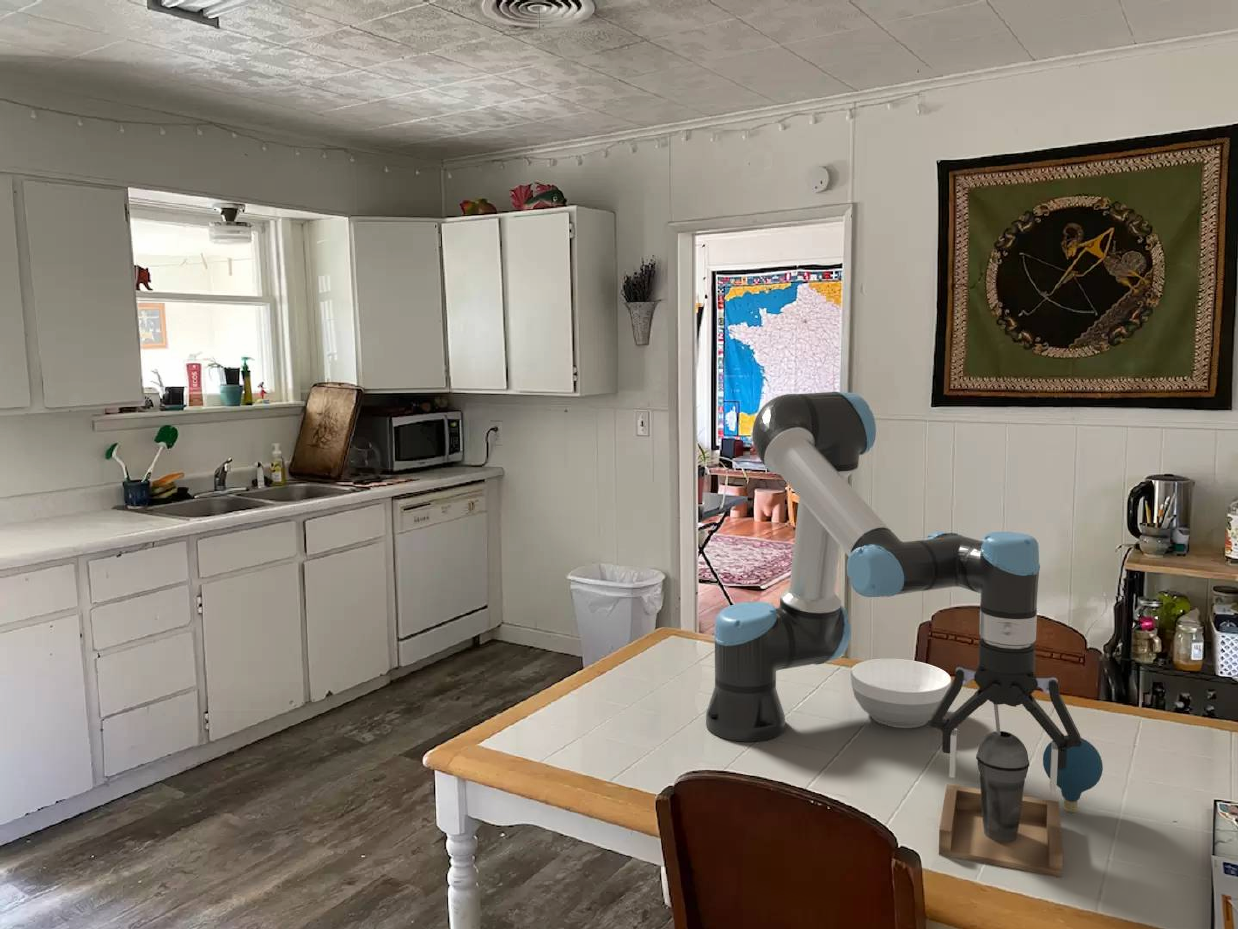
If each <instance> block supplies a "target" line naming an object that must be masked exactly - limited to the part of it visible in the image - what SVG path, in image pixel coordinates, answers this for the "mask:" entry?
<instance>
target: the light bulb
mask: <svg viewBox="0 0 1238 929" xmlns="http://www.w3.org/2000/svg"><path fill="white" fill-rule="evenodd" d="M1052 742H1054V741H1053V740H1051V741H1050V742H1049V743H1048V744H1047V746H1046V748H1045V749H1044V751H1043V754H1042V765H1043V769H1044V771H1045V774H1046V775H1047V777H1048V779H1050V769H1051V746H1052ZM1081 742H1082V745H1081V746H1080V747H1075V746H1074V747H1070V748H1068V750H1067V760H1066V768H1065V770H1060V769H1057V787H1058V788H1059V789H1060V792H1061V797H1062V798H1063V808H1064V809H1065V810H1066V811H1068V812H1070V813H1071V812H1073V813H1074V812H1075V811H1077V810H1078V801H1079V800H1080V799H1081V796H1082V793H1084V792H1087V791H1088V790H1091V789H1092V788H1094V787H1095V786H1097V785H1098V783H1099V781H1100V779H1101V777H1102V774H1103V771H1104V766H1103V760H1102V757H1101V755H1100V753H1099V751H1098V749H1096V747H1095V746H1094V745H1093V744H1092V743H1090V741H1089V740H1086V739H1084V738H1083V737H1081Z"/></svg>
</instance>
